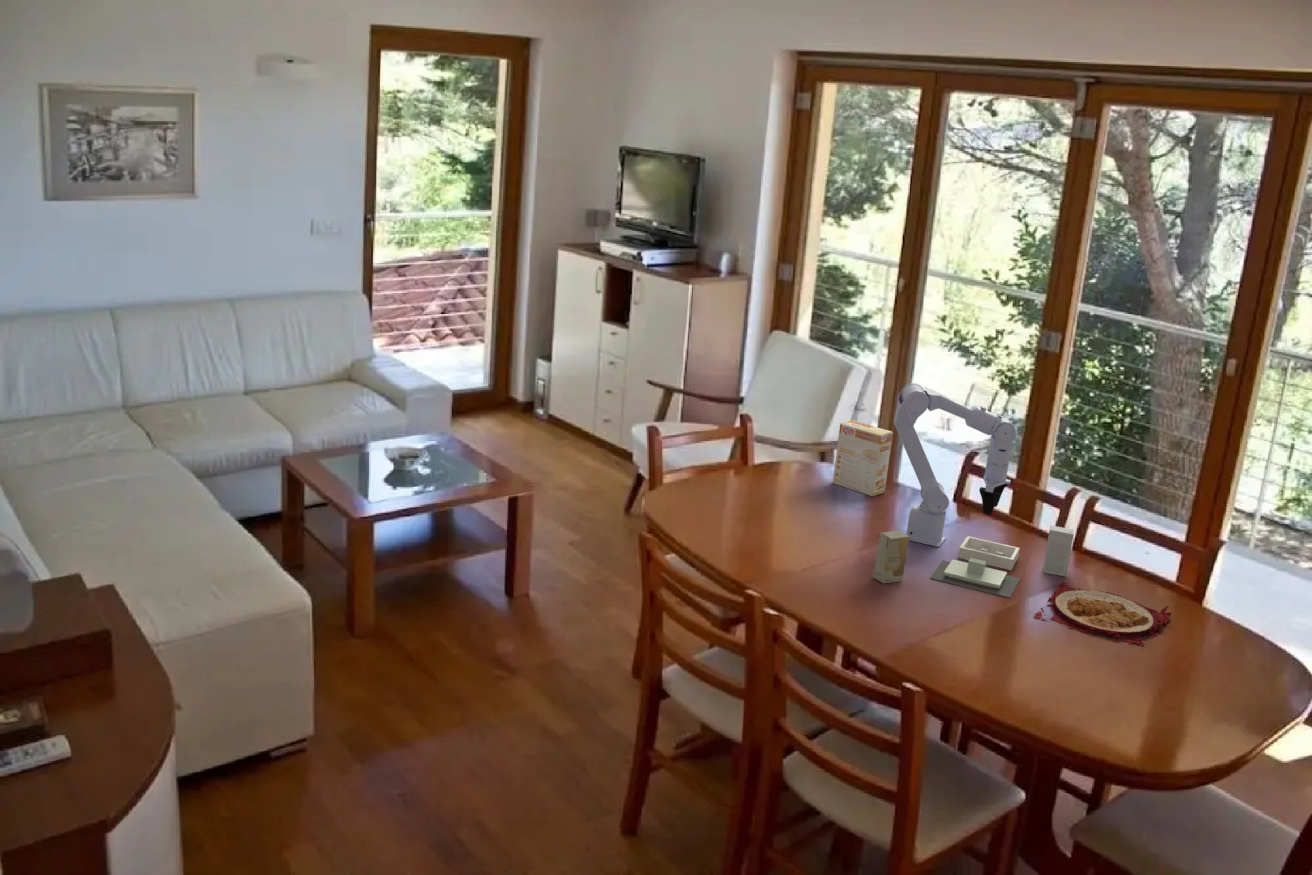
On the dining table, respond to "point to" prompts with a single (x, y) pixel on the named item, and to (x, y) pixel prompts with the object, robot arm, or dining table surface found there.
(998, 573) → the lid
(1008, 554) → the parts tray
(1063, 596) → the plate with food
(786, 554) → the dining table surface
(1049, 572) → the skincare box
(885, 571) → the skincare box
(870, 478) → the coffeecake box
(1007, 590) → the mat
